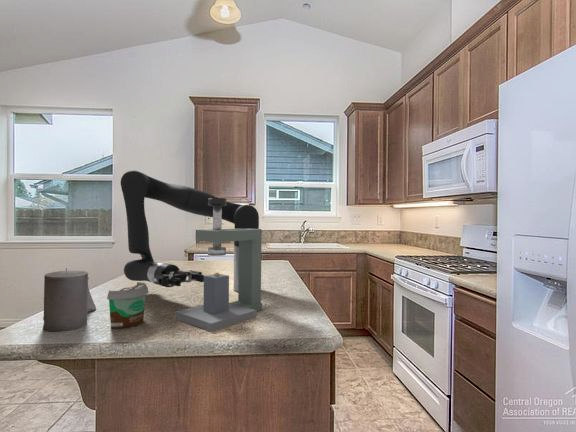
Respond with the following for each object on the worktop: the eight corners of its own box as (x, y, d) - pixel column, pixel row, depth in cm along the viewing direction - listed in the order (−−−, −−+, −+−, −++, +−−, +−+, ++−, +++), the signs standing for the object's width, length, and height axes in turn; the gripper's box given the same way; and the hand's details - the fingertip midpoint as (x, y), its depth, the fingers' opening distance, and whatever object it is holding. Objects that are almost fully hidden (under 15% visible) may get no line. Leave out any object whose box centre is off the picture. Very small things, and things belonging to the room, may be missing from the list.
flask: (65, 310, 102) (65, 277, 102) (91, 305, 107) (92, 274, 107) (72, 315, 97) (72, 280, 97) (100, 310, 102) (100, 277, 102)
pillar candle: (33, 330, 84) (34, 270, 84) (64, 318, 94) (65, 264, 94) (67, 333, 83) (68, 272, 83) (96, 321, 92) (97, 266, 92)
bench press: (237, 302, 113) (237, 228, 113) (272, 311, 102) (273, 229, 102) (175, 318, 95) (176, 229, 95) (210, 331, 85) (211, 232, 85)
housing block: (217, 307, 99) (217, 270, 99) (228, 310, 96) (229, 272, 96) (203, 311, 96) (203, 273, 96) (214, 314, 92) (215, 275, 92)
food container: (128, 333, 83) (128, 292, 83) (106, 331, 84) (107, 291, 84) (157, 318, 95) (157, 282, 95) (138, 316, 96) (138, 281, 96)
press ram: (218, 253, 99) (218, 199, 99) (229, 254, 96) (230, 198, 96) (204, 254, 96) (204, 198, 96) (215, 256, 92) (215, 197, 92)
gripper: (143, 265, 108) (171, 271, 98) (182, 261, 119) (211, 266, 109) (143, 288, 108) (171, 297, 98) (182, 282, 119) (210, 289, 109)
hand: (192, 280), depth 104 cm, fingers open, 8 cm apart
